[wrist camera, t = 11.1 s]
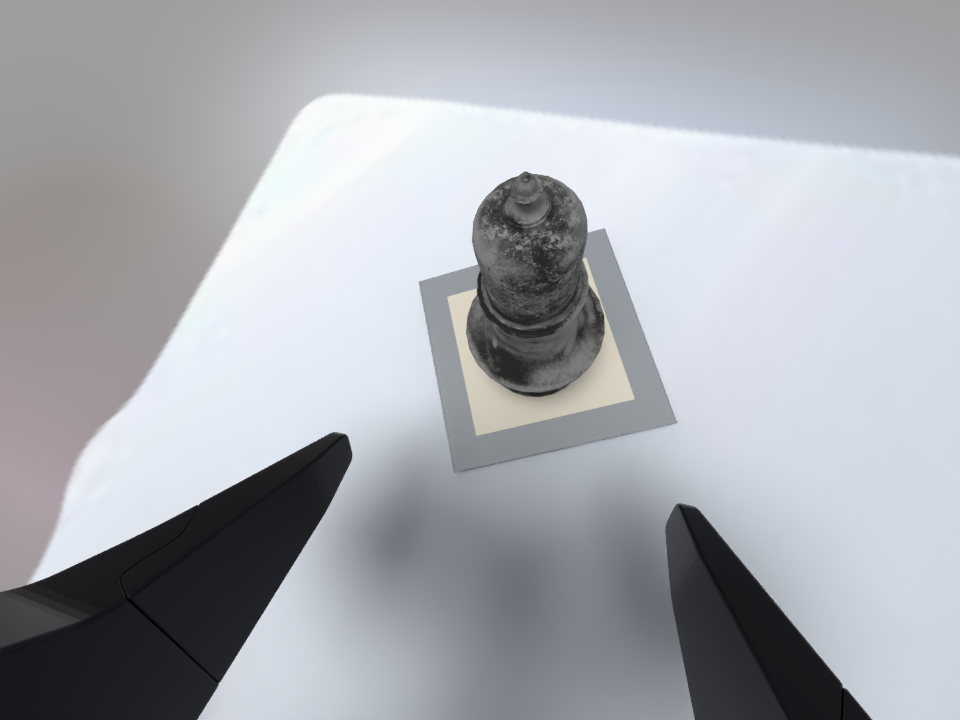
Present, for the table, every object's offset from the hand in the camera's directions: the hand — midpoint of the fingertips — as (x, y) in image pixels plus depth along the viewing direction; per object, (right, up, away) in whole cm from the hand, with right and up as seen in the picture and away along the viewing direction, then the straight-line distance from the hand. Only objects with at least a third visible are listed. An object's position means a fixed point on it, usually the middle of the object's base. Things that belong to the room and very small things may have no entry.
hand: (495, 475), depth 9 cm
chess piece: (+3, +4, +9) cm, 10 cm away
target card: (+3, +4, +9) cm, 11 cm away
